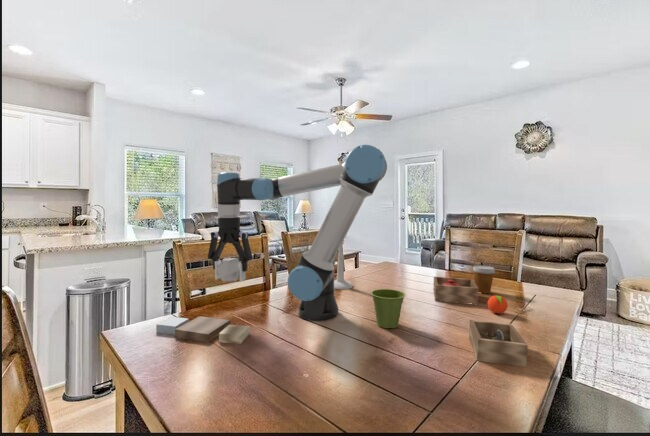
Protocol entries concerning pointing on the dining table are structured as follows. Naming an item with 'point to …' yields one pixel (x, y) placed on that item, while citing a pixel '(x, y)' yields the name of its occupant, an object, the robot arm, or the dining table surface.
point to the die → (229, 269)
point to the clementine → (497, 304)
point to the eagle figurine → (499, 333)
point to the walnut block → (201, 329)
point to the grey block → (170, 325)
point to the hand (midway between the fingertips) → (230, 279)
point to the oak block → (234, 334)
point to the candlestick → (341, 273)
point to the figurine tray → (497, 344)
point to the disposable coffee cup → (483, 277)
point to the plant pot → (387, 306)
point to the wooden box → (455, 290)
